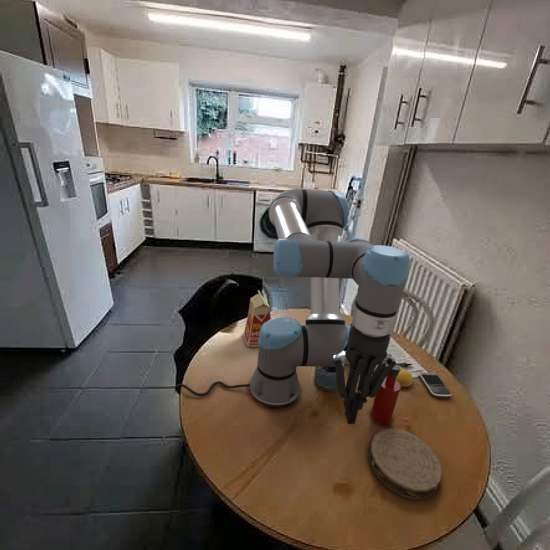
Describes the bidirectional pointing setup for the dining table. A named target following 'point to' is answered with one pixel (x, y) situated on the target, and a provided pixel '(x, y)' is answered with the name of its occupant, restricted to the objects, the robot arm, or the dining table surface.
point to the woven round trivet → (405, 463)
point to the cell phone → (435, 385)
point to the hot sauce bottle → (386, 398)
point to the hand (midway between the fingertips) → (349, 418)
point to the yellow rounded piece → (404, 378)
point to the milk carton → (256, 319)
